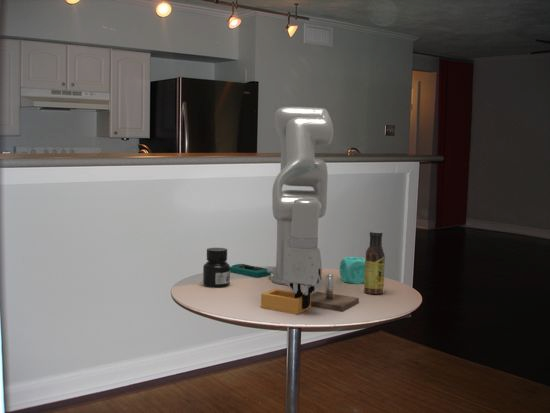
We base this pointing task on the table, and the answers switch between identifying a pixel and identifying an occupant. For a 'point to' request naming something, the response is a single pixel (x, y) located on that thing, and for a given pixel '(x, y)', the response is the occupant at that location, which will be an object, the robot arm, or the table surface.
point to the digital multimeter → (249, 270)
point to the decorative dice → (352, 270)
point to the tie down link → (282, 301)
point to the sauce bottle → (374, 265)
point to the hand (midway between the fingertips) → (302, 306)
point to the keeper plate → (332, 298)
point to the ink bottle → (216, 268)
